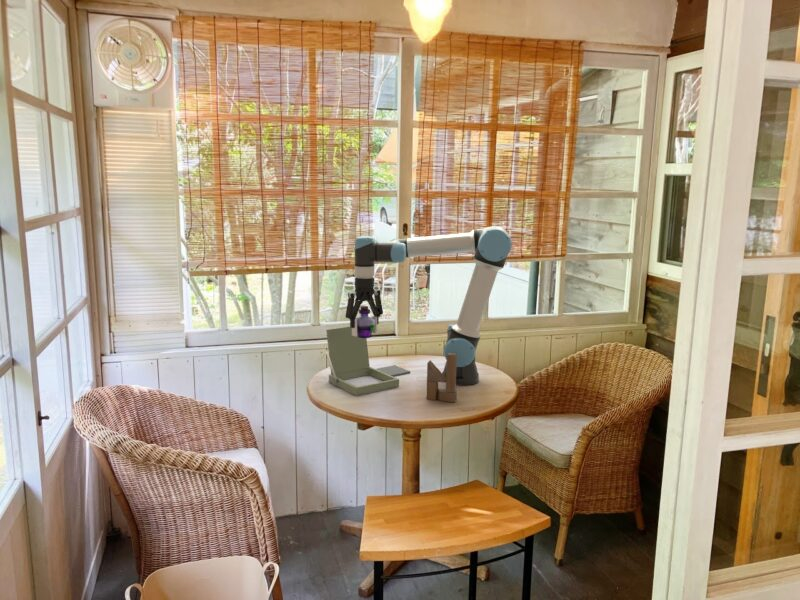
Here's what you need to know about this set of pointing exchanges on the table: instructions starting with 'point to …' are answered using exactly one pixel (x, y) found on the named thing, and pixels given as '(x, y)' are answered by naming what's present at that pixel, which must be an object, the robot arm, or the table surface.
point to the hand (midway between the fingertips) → (364, 334)
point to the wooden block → (442, 380)
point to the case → (353, 362)
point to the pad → (394, 370)
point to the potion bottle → (365, 323)
